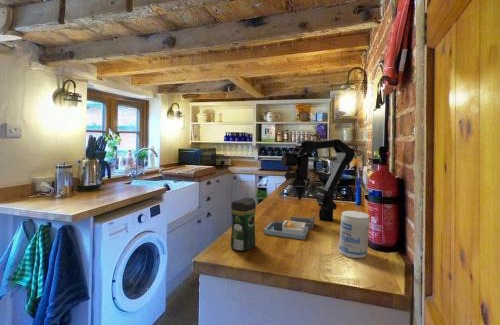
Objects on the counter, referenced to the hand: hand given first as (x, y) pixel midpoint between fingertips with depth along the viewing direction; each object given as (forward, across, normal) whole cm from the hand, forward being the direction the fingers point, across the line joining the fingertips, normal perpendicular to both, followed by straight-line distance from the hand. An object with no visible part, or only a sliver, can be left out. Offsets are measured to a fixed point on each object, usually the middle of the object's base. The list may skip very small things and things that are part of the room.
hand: (301, 197), depth 134 cm
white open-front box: (+12, +19, -2) cm, 22 cm away
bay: (+12, +6, +1) cm, 13 cm away
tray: (+12, +19, -3) cm, 23 cm away
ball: (+9, +19, -1) cm, 21 cm away
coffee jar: (+12, +41, -15) cm, 45 cm away
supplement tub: (+12, +31, +24) cm, 41 cm away
